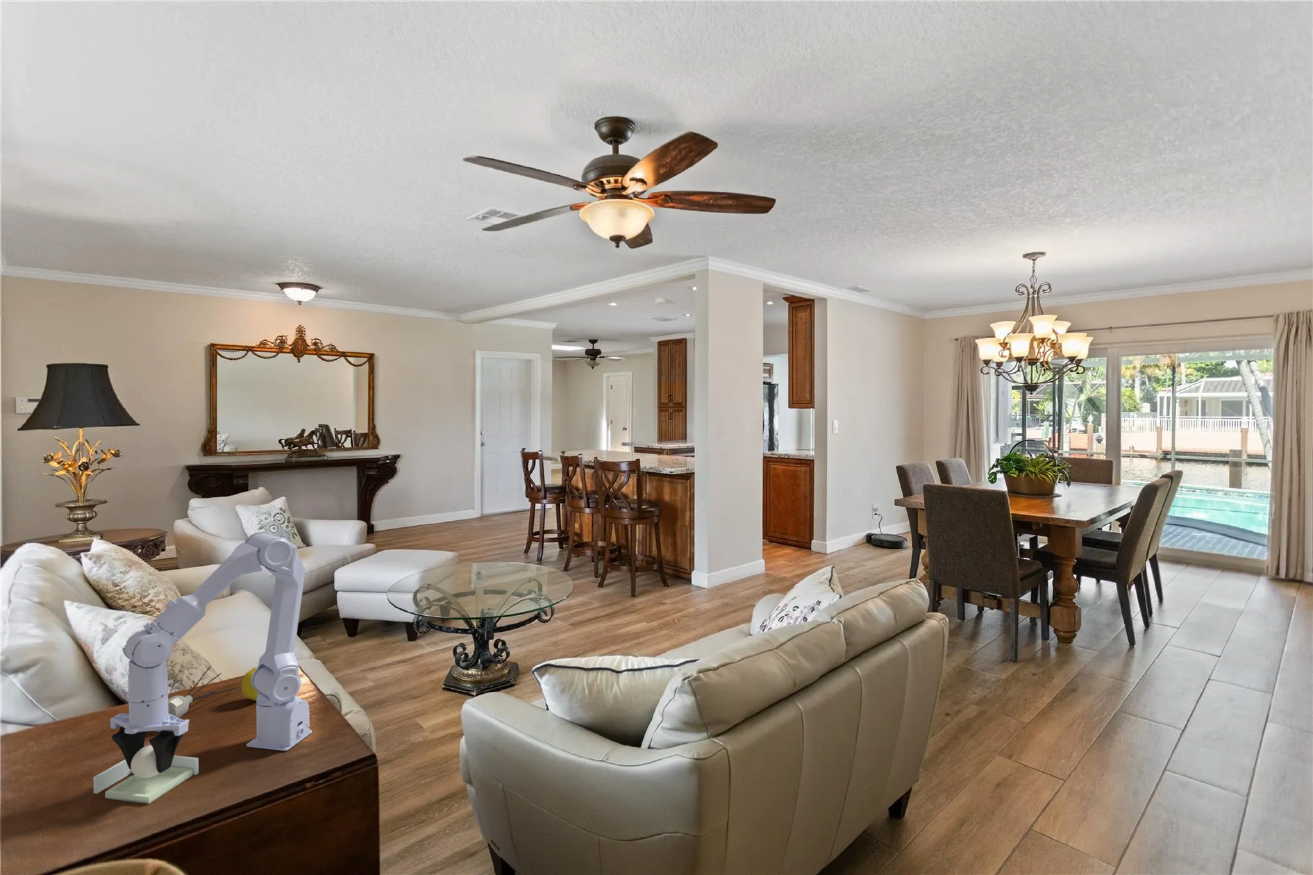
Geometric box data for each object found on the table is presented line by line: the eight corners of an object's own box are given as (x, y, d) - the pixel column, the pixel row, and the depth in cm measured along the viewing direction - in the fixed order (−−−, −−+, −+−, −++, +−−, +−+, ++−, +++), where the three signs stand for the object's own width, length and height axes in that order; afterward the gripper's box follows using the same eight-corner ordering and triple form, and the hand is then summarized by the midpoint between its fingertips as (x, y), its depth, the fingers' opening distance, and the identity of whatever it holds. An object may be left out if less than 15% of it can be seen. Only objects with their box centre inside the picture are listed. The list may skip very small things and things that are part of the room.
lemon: (259, 706, 151) (259, 672, 150) (236, 705, 151) (235, 672, 150) (273, 695, 156) (273, 663, 156) (251, 694, 156) (251, 662, 156)
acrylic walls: (198, 773, 123) (198, 757, 123) (156, 801, 114) (155, 784, 114) (140, 766, 125) (139, 751, 125) (93, 793, 116) (93, 777, 116)
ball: (176, 768, 121) (177, 740, 121) (150, 786, 116) (150, 756, 115) (150, 765, 122) (150, 736, 121) (122, 782, 116) (122, 752, 116)
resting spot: (192, 775, 122) (192, 769, 122) (148, 803, 114) (148, 797, 113) (151, 770, 124) (151, 764, 124) (105, 798, 115) (105, 791, 115)
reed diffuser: (154, 693, 138) (218, 656, 158) (134, 716, 138) (201, 677, 158) (190, 723, 138) (250, 683, 158) (171, 747, 138) (233, 704, 158)
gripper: (92, 702, 115) (94, 776, 116) (163, 709, 113) (164, 784, 113) (130, 685, 122) (132, 755, 123) (197, 692, 120) (198, 762, 120)
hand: (150, 767), depth 118 cm, fingers closed on ball, 6 cm apart
